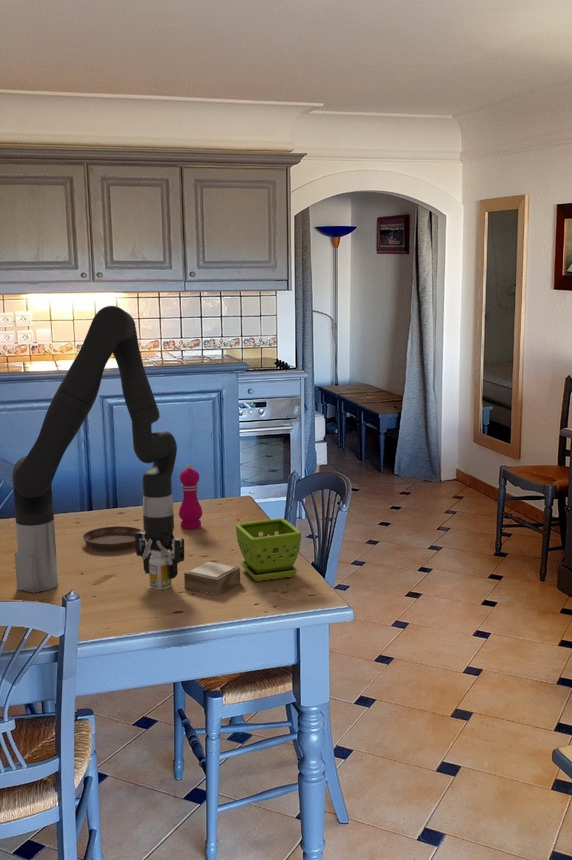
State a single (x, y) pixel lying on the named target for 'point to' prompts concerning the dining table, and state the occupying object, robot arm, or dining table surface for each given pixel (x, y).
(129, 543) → the plant saucer
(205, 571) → the pedestal
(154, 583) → the supplement bottle
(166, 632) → the dining table surface
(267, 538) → the flower pot
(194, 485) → the pepper mill
